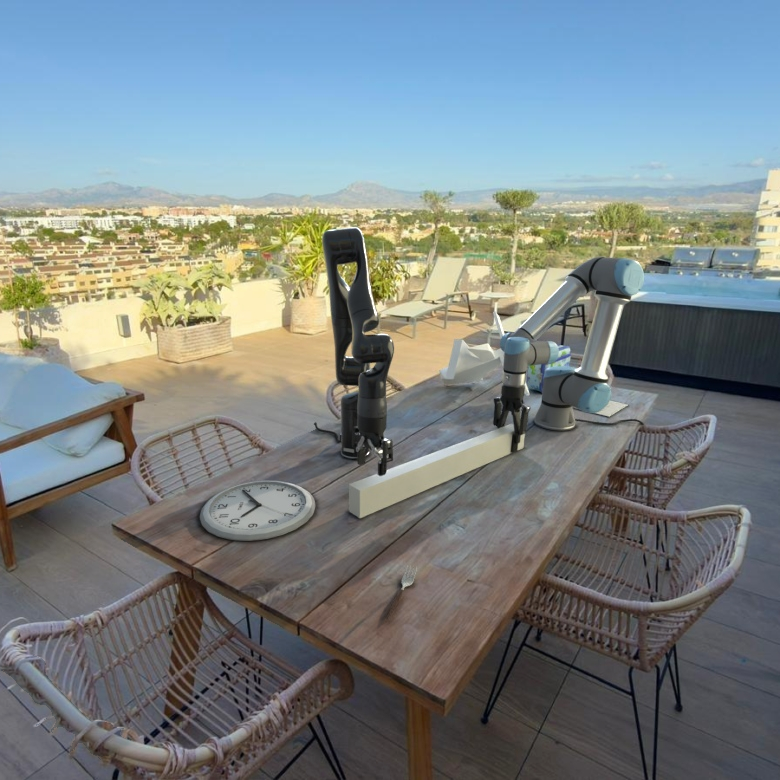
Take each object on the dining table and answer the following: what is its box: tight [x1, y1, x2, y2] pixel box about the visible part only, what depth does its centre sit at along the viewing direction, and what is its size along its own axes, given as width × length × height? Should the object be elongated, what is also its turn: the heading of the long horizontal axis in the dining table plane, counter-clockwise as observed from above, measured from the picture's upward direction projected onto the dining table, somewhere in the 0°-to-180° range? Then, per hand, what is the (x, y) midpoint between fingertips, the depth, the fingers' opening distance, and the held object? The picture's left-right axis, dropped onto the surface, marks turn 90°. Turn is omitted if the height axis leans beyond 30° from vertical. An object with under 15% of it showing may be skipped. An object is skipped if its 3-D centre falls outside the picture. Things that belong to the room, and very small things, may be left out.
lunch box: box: [526, 344, 572, 394], centre depth 248 cm, size 26×11×21 cm, turn 135°
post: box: [348, 422, 526, 519], centre depth 160 cm, size 72×5×8 cm, turn 131°
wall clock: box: [199, 480, 316, 542], centre depth 140 cm, size 30×2×30 cm
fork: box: [386, 563, 418, 620], centre depth 108 cm, size 3×16×2 cm, turn 160°
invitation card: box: [573, 400, 629, 418], centre depth 226 cm, size 21×1×15 cm
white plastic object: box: [438, 310, 531, 397], centre depth 245 cm, size 37×45×31 cm
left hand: (371, 469), depth 138 cm, fingers open, 8 cm apart
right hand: (507, 448), depth 180 cm, fingers closed on post, 5 cm apart
